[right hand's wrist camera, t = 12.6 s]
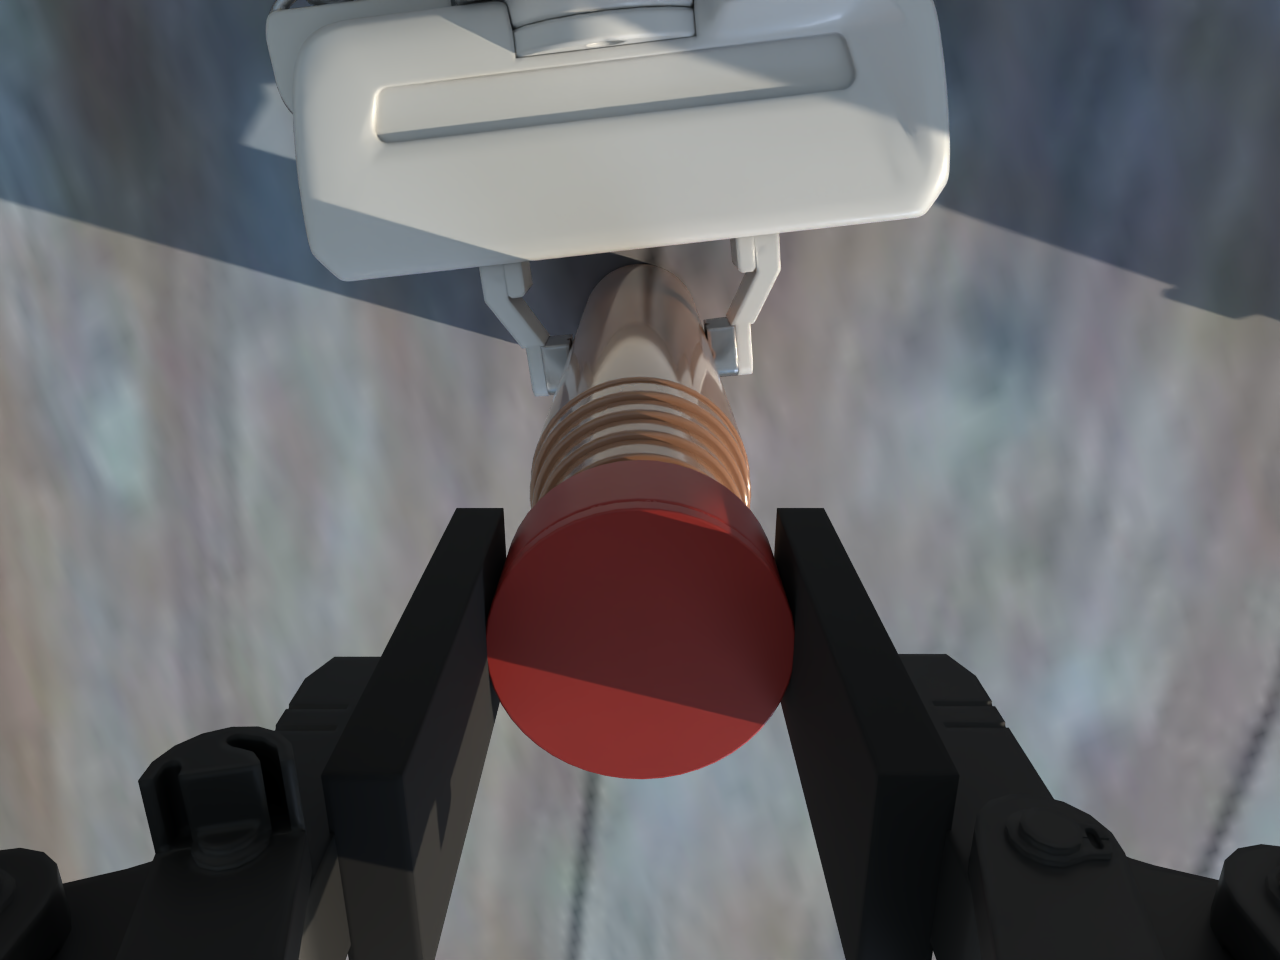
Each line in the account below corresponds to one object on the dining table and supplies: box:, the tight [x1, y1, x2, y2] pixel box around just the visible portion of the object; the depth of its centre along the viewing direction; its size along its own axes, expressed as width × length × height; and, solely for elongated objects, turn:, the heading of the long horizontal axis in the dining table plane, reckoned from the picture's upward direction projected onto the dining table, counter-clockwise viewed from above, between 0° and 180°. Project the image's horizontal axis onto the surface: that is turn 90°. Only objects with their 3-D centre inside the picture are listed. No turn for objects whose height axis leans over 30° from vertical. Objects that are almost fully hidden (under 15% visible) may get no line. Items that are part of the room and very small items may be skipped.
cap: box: [486, 460, 795, 779], centre depth 14 cm, size 4×4×2 cm
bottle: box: [530, 264, 751, 509], centre depth 25 cm, size 5×5×26 cm
